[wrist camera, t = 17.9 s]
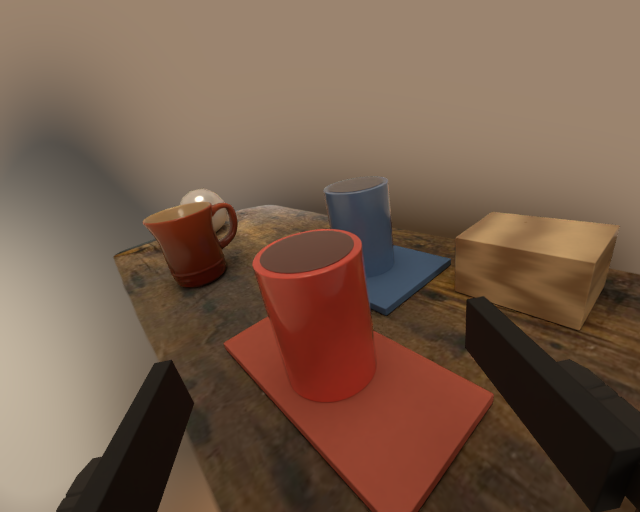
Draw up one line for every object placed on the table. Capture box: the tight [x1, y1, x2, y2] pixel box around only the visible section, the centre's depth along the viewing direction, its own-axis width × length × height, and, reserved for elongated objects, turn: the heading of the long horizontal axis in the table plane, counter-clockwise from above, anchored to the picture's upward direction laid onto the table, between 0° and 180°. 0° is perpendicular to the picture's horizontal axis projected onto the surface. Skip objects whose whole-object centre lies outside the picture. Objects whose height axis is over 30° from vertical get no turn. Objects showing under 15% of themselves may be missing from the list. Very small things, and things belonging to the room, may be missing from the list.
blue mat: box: [367, 245, 451, 315], centre depth 37 cm, size 14×12×1 cm
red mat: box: [224, 317, 494, 512], centre depth 24 cm, size 20×10×1 cm, turn 40°
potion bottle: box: [180, 188, 227, 233], centre depth 61 cm, size 9×10×15 cm
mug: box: [143, 202, 238, 288], centre depth 43 cm, size 12×9×10 cm
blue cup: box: [324, 177, 395, 278], centre depth 36 cm, size 7×7×10 cm
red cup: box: [253, 229, 377, 402], centre depth 22 cm, size 7×7×10 cm
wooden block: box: [455, 212, 620, 330], centre depth 28 cm, size 10×8×6 cm
